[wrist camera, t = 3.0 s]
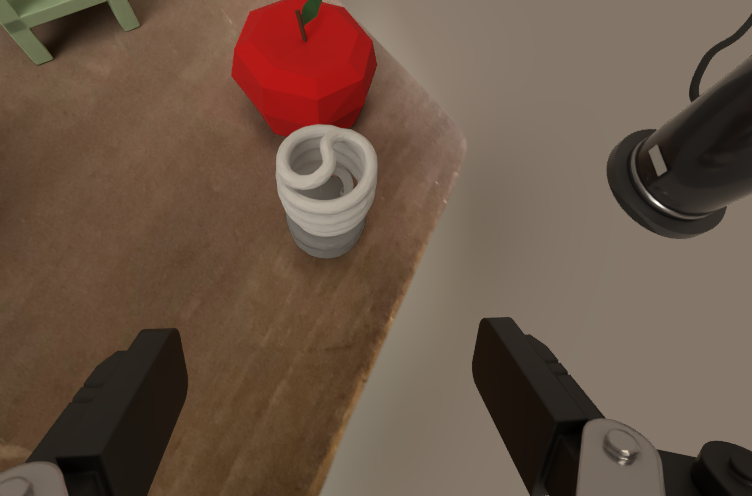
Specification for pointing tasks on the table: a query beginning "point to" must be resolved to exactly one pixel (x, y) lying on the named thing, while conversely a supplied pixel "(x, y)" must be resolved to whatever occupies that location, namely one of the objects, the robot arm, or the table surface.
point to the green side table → (45, 3)
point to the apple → (304, 64)
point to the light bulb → (326, 187)
